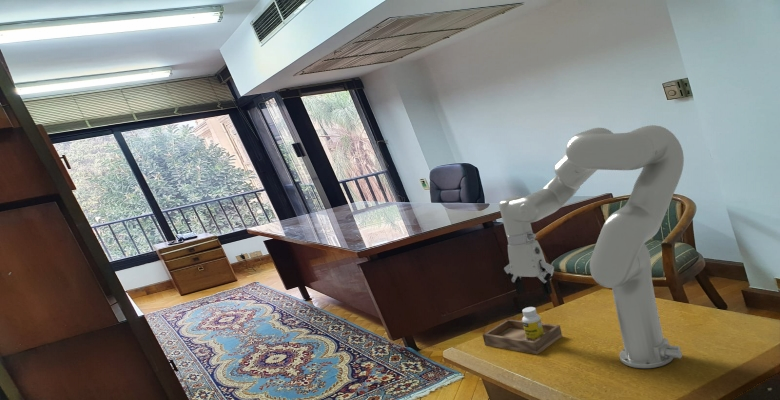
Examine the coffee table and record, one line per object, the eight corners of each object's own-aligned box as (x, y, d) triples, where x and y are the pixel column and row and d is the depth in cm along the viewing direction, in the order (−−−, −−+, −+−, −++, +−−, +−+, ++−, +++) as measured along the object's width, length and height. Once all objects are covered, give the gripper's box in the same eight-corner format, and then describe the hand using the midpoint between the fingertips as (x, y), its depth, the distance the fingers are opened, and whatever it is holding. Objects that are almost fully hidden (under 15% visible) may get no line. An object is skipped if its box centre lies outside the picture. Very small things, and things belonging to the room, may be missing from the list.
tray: (562, 336, 161) (559, 325, 161) (537, 354, 153) (534, 343, 153) (510, 329, 177) (507, 319, 176) (484, 345, 169) (482, 334, 168)
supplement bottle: (523, 343, 160) (516, 312, 160) (531, 335, 164) (524, 305, 164) (540, 344, 157) (533, 312, 156) (548, 336, 161) (541, 305, 160)
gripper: (552, 233, 151) (567, 290, 152) (505, 236, 165) (518, 288, 166) (537, 240, 146) (552, 300, 148) (490, 243, 160) (503, 297, 161)
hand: (534, 294), depth 157 cm, fingers open, 9 cm apart
